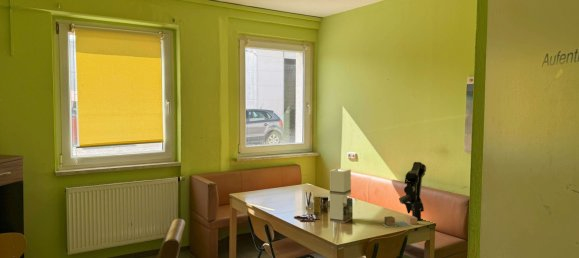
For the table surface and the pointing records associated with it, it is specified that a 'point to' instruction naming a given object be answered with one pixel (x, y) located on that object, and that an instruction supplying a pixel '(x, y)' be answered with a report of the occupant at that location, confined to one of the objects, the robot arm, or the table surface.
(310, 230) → the table surface
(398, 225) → the plan board
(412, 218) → the terracotta cube
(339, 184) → the cream tall block
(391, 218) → the walnut cube
